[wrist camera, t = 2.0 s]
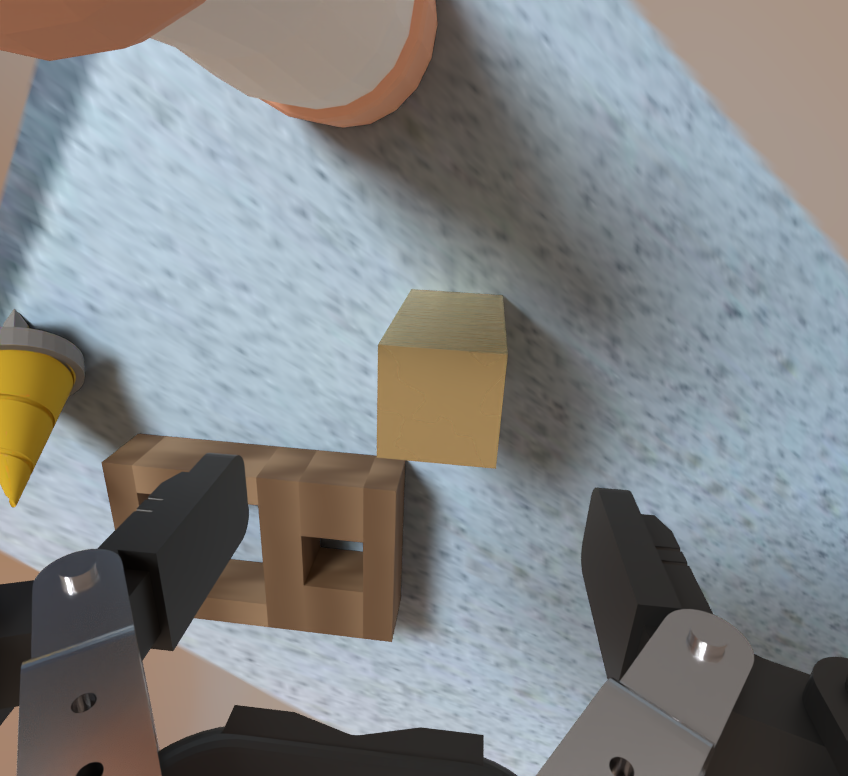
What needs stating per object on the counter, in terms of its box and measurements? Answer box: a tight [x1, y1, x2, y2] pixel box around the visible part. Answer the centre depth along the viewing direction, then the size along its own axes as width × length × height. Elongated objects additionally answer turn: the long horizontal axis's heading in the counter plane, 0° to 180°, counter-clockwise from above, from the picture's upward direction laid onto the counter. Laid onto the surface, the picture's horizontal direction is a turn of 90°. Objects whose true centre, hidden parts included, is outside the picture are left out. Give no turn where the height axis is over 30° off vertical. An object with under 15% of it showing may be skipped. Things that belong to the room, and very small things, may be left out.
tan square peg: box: [377, 289, 508, 469], centre depth 22 cm, size 4×4×8 cm
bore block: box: [102, 434, 405, 642], centre depth 29 cm, size 14×9×3 cm, turn 88°
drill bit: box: [0, 309, 85, 507], centre depth 25 cm, size 5×5×10 cm
